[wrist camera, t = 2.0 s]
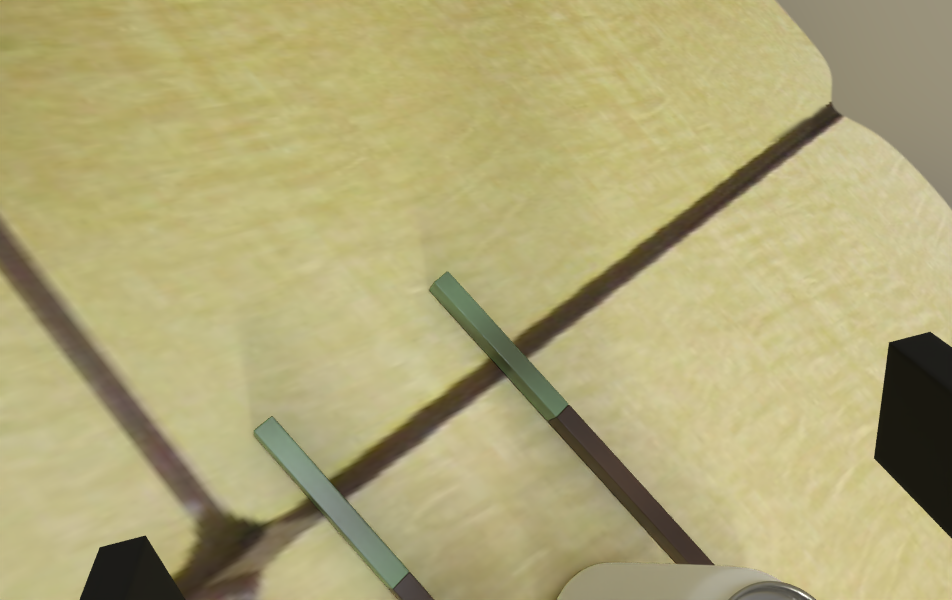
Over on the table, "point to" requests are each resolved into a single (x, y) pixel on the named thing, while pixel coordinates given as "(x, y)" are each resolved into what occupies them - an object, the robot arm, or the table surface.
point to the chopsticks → (544, 400)
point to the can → (676, 583)
